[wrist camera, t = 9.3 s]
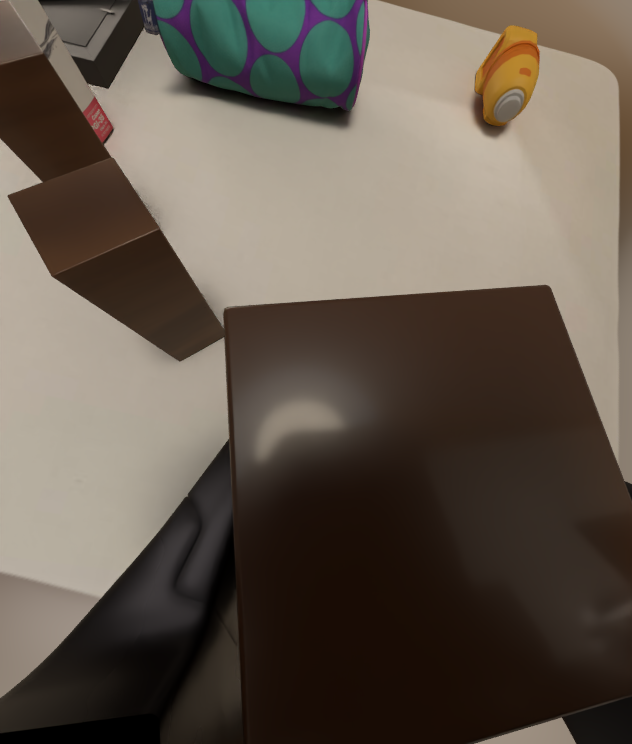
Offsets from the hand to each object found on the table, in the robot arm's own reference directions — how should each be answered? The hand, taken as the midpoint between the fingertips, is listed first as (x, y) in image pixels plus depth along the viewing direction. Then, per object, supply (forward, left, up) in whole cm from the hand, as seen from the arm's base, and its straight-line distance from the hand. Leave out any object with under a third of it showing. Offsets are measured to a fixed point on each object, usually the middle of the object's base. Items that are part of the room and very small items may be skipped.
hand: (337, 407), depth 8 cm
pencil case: (+38, -6, -14) cm, 41 cm away
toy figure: (+33, -34, -14) cm, 49 cm away
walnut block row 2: (+22, +11, -13) cm, 28 cm away
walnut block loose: (-1, 0, -7) cm, 7 cm away
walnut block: (+11, +8, -13) cm, 19 cm away
